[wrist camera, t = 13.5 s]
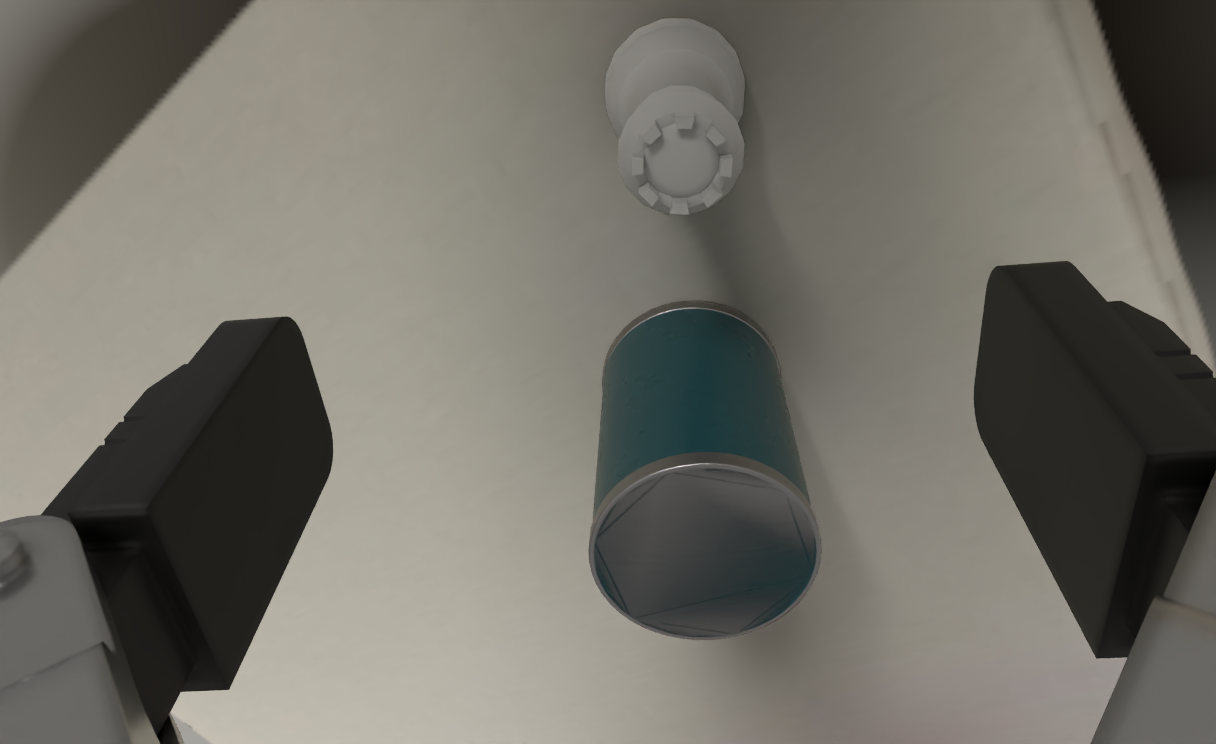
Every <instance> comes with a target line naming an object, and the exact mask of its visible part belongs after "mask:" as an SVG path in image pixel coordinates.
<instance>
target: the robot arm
mask: <svg viewBox="0 0 1216 744" xmlns="http://www.w3.org/2000/svg"><path fill="white" fill-rule="evenodd" d="M1190 350H1191V349H1190V348H1189V347H1188V346H1187V345H1186V344H1185V343H1184V342H1183V341H1182V340H1181V339H1180V338H1179V337H1178V336H1177V335H1176V334H1175V333H1174V332H1173V331H1172V330H1171V329H1170V328H1169V327H1168V326H1167V325H1166V324H1165V323H1164V322H1162V321H1160V320H1158V319H1156V318H1154V317H1152V316H1150V315H1148V314H1146V313H1144V312H1142V311H1140V310H1138V309H1136V308H1134V307H1132V306H1130V305H1128V304H1126V303H1125V302H1123V301H1112V302H1107V301H1106V300H1105V299H1104V298H1103V297H1102V295H1101V294H1100V293H1099V292H1098V291H1097V290H1096V289H1095V288H1094V287H1093V286H1092V285H1091V283H1090V282H1089V281H1088V280H1087V279H1086V278H1085V277H1084V276H1083V275H1082V274H1081V273H1080V271H1079V270H1078V269H1077V268H1076V267H1075V266H1074V265H1073V264H1072V263H1070V262H1068V261H1060V262H1046V263H1032V264H1019V265H1005V266H997V267H995V268H994V269H993V270H992V272H991V274H990V277H989V279H988V283H987V288H986V296H985V304H984V312H983V320H982V328H981V336H980V344H979V352H978V360H977V368H976V376H975V384H974V408H975V416H976V422H977V426H978V430H979V433H980V436H981V439H982V441H983V443H984V445H985V447H986V449H987V451H988V453H989V455H990V456H991V458H992V460H993V462H994V464H995V466H996V468H997V470H998V472H999V474H1000V476H1001V477H1002V479H1003V481H1004V483H1005V485H1006V487H1007V489H1008V491H1009V493H1010V495H1011V496H1012V498H1013V500H1014V502H1015V504H1016V506H1017V508H1018V510H1019V512H1020V514H1021V516H1022V517H1023V519H1024V521H1025V523H1026V525H1027V527H1028V529H1029V531H1030V533H1031V535H1032V537H1033V538H1034V540H1035V542H1036V544H1037V546H1038V548H1039V550H1040V552H1041V554H1042V556H1043V558H1044V559H1045V561H1046V563H1047V565H1048V567H1049V569H1050V571H1051V573H1052V575H1053V577H1054V579H1055V580H1056V582H1057V584H1058V586H1059V588H1060V590H1061V592H1062V594H1063V596H1064V598H1065V600H1066V601H1067V603H1068V605H1069V607H1070V609H1071V611H1072V613H1073V615H1074V617H1075V619H1076V621H1077V622H1078V624H1079V626H1080V628H1081V630H1082V632H1083V634H1084V636H1085V638H1086V640H1087V642H1088V643H1089V645H1090V647H1091V649H1092V651H1093V653H1094V655H1095V657H1096V658H1120V657H1128V658H1127V660H1126V663H1125V665H1124V667H1123V670H1122V672H1121V674H1120V677H1119V679H1118V681H1117V684H1116V686H1115V688H1114V691H1113V693H1112V695H1111V698H1110V700H1109V702H1108V705H1107V707H1106V709H1105V712H1104V714H1103V716H1102V718H1101V721H1100V723H1099V725H1098V728H1097V730H1096V732H1095V735H1094V737H1093V739H1092V742H1091V744H1216V378H1213V371H1212V370H1211V369H1210V368H1209V367H1208V366H1207V365H1206V364H1205V363H1204V362H1203V361H1202V360H1201V359H1200V358H1199V357H1198V356H1197V355H1191V353H1190ZM104 440H105V445H100V446H99V447H98V448H97V449H96V450H95V451H94V452H93V454H92V455H91V456H90V457H89V458H88V460H87V461H86V462H85V463H84V464H83V465H82V467H81V468H80V469H79V470H78V471H77V473H76V474H75V475H74V476H73V477H72V478H71V480H70V481H69V482H68V483H67V484H66V486H65V487H64V488H63V489H62V490H61V492H60V493H59V494H58V495H57V496H56V497H55V499H54V500H53V501H52V502H51V503H50V505H49V506H48V507H47V508H46V509H45V510H44V512H43V513H42V514H41V515H37V516H26V517H20V518H15V519H11V520H7V521H3V522H0V744H184V742H183V739H182V736H181V733H180V731H179V729H178V727H177V725H176V723H175V721H174V719H173V717H172V715H171V713H170V711H171V709H172V708H173V706H174V704H175V702H176V700H177V698H178V696H179V694H180V692H185V691H210V690H229V689H230V686H231V684H232V682H233V680H234V678H235V676H236V674H237V671H238V669H239V667H240V665H241V663H242V661H243V659H244V656H245V654H246V652H247V650H248V648H249V646H250V644H251V642H252V639H253V637H254V635H255V633H256V631H257V629H258V627H259V624H260V622H261V620H262V618H263V616H264V614H265V612H266V609H267V607H268V605H269V603H270V601H271V599H272V597H273V595H274V592H275V590H276V588H277V586H278V584H279V582H280V580H281V577H282V575H283V573H284V571H285V569H286V567H287V565H288V563H289V560H290V558H291V556H292V554H293V552H294V550H295V548H296V545H297V543H298V541H299V539H300V537H301V535H302V533H303V530H304V528H305V526H306V524H307V522H308V520H309V518H310V516H311V513H312V511H313V509H314V507H315V505H316V503H317V501H318V498H319V496H320V494H321V492H322V490H323V488H324V486H325V483H326V481H327V479H328V477H329V474H330V471H331V466H332V459H333V439H332V432H331V427H330V423H329V420H328V417H327V413H326V410H325V407H324V404H323V400H322V397H321V394H320V391H319V387H318V384H317V381H316V378H315V374H314V371H313V368H312V365H311V361H310V358H309V355H308V352H307V348H306V345H305V342H304V339H303V336H302V333H301V331H300V329H299V327H298V325H297V324H296V322H295V321H294V320H293V319H291V318H290V317H274V318H260V319H246V320H232V321H225V322H223V323H221V324H220V325H219V326H218V327H217V329H216V330H215V331H214V332H213V334H212V335H211V336H210V337H209V339H208V340H207V341H206V342H205V344H204V345H203V346H202V347H201V348H200V350H199V351H198V352H197V353H196V355H195V356H194V357H193V358H192V360H191V361H190V362H189V363H188V364H184V365H182V366H181V367H179V368H178V369H176V370H175V371H173V372H172V373H170V374H169V375H167V376H166V377H164V378H163V379H161V380H160V381H158V382H157V383H155V384H154V385H153V386H151V387H150V388H148V389H147V390H146V391H145V392H144V393H143V394H142V396H141V397H140V398H139V399H138V400H137V402H136V403H135V404H134V405H133V406H132V408H131V409H130V410H129V411H128V412H127V413H126V415H125V416H124V422H119V423H118V424H117V425H116V426H115V428H114V429H113V430H112V431H111V432H110V434H109V435H108V436H107V437H106V438H105V439H104Z"/></svg>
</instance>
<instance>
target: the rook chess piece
mask: <svg viewBox="0 0 1216 744" xmlns="http://www.w3.org/2000/svg"><path fill="white" fill-rule="evenodd" d="M744 83H745V78H744V74H743V71H742V68H741V65H740V62H739V59H738V56H737V53H736V51H735V50H734V49H733V48H732V46H731V45H730V44H729V43H728V42H727V41H726V40H725V38H724V37H723V36H722V35H721V34H720V33H719V32H718V31H717V30H715V29H713V28H711V27H709V26H707V25H704V24H702V23H700V22H698V21H696V20H694V19H680V18H663V19H660V20H658V21H655V22H653V23H651V24H648V25H646V26H643V27H641V28H638V29H636V30H635V31H634V32H633V33H632V34H631V35H630V36H629V37H628V38H627V39H626V40H625V41H624V42H623V43H622V44H621V45H620V46H619V47H618V48H617V49H616V52H615V54H614V56H613V59H612V61H611V64H610V66H609V68H608V71H607V73H606V76H605V105H606V111H607V114H608V116H609V119H610V121H611V124H612V126H613V129H614V131H615V134H616V136H617V137H618V138H619V141H618V168H619V170H620V173H621V175H622V177H623V180H624V182H625V185H626V187H627V189H628V190H629V191H630V192H631V193H632V194H633V195H634V196H635V197H636V198H637V199H638V200H639V201H640V202H641V203H642V204H643V205H645V206H647V207H650V208H652V209H654V210H657V211H659V212H662V213H664V214H679V215H690V214H693V213H696V212H699V211H702V210H704V209H707V208H710V207H713V206H714V205H715V204H716V203H717V202H718V201H720V200H721V199H722V198H723V197H724V196H725V195H727V194H728V193H729V192H730V191H731V190H732V188H733V186H734V184H735V182H736V180H737V178H738V176H739V175H740V173H741V171H742V169H743V158H744V147H745V143H744V140H743V137H742V134H741V131H740V128H739V125H738V122H739V120H740V118H741V116H742V114H743V105H744V93H745V84H744Z"/></svg>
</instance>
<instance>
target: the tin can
mask: <svg viewBox="0 0 1216 744" xmlns="http://www.w3.org/2000/svg"><path fill="white" fill-rule="evenodd" d="M602 389H603V396H602V409H601V421H600V434H599V447H598V459H597V472H596V485H595V498H594V510H593V522H592V526H591V531H590V540H589V563H590V567H591V572H592V575H593V577H594V580H595V582H596V584H597V586H598V588H599V589H600V591H601V593H602V594H603V596H604V597H605V598H606V599H607V601H608V602H609V603H610V604H611V605H612V606H613V607H614V608H615V609H616V610H617V611H618V612H619V613H621V614H622V615H624V616H625V617H626V618H628V619H629V620H631V621H633V622H634V623H636V624H638V625H640V626H642V627H644V628H646V629H649V630H651V631H654V632H657V633H660V634H663V635H667V636H672V637H677V638H683V639H693V640H712V639H723V638H729V637H734V636H739V635H742V634H746V633H749V632H752V631H755V630H757V629H760V628H762V627H765V626H767V625H768V624H770V623H772V622H774V621H776V620H777V619H779V618H780V617H782V616H783V615H785V614H786V613H788V612H789V611H790V610H791V609H792V608H793V607H795V606H796V605H797V604H798V603H799V601H800V600H801V599H802V598H803V597H804V596H805V594H806V593H807V591H808V590H809V588H810V587H811V586H812V583H813V581H814V579H815V577H816V575H817V572H818V569H819V565H820V560H821V552H822V550H821V538H820V533H819V529H818V525H817V521H816V517H815V514H814V512H813V510H812V507H811V503H810V499H809V495H808V491H807V487H806V482H805V478H804V474H803V470H802V466H801V461H800V457H799V453H798V449H797V445H796V440H795V436H794V432H793V428H792V424H791V419H790V415H789V411H788V407H787V403H786V398H785V394H784V390H783V386H782V382H781V372H780V367H779V363H778V359H777V355H776V352H775V350H774V347H773V345H772V343H771V342H770V340H769V338H768V337H767V336H766V334H765V333H764V332H763V331H762V329H761V328H760V327H759V326H758V325H757V324H755V323H754V322H753V321H752V320H751V319H749V318H748V317H746V316H745V315H743V314H742V313H740V312H738V311H736V310H734V309H731V308H729V307H726V306H723V305H720V304H716V303H711V302H703V301H683V302H675V303H671V304H667V305H663V306H660V307H657V308H655V309H652V310H650V311H648V312H646V313H644V314H642V315H641V316H639V317H638V318H636V319H635V320H633V321H632V322H631V323H630V324H629V325H628V326H626V327H625V328H624V329H623V330H622V332H621V333H620V334H619V335H618V336H617V337H616V339H615V341H614V342H613V344H612V345H611V347H610V349H609V352H608V354H607V356H606V360H605V364H604V369H603V379H602Z"/></svg>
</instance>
